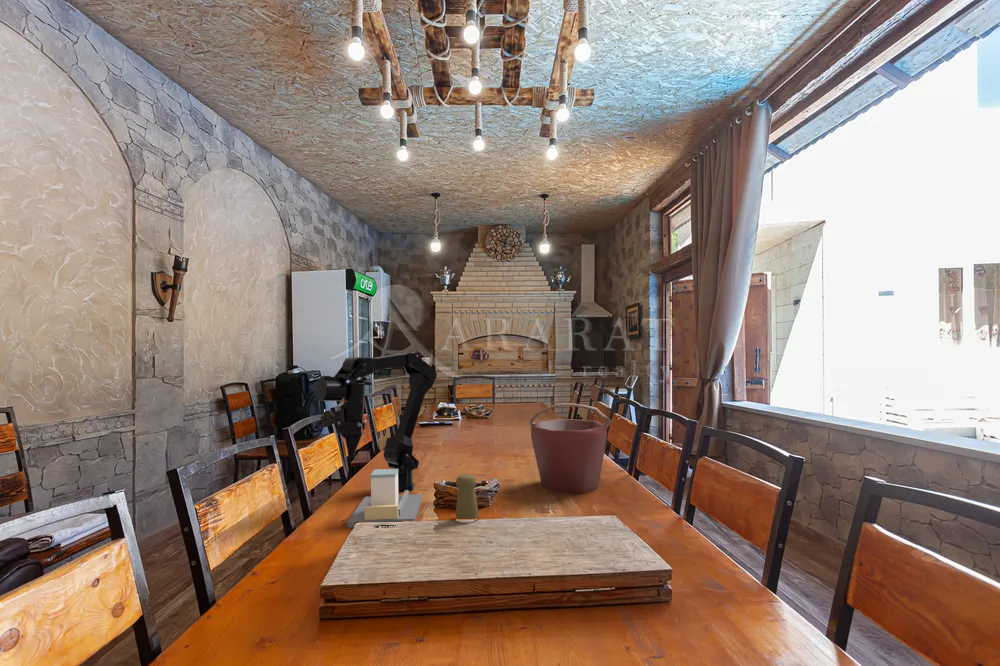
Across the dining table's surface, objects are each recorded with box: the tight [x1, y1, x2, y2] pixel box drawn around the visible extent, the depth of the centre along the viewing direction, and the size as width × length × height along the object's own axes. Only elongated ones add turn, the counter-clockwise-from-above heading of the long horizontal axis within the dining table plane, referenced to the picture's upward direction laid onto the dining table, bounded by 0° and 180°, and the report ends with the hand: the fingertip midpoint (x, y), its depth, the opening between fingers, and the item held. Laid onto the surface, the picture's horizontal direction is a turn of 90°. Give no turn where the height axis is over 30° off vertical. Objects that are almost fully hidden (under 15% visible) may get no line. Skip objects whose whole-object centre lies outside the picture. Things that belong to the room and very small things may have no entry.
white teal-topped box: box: [369, 468, 399, 506], centre depth 124 cm, size 5×6×10 cm
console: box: [347, 490, 423, 529], centre depth 128 cm, size 20×16×4 cm
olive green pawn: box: [454, 473, 480, 519], centre depth 122 cm, size 6×6×11 cm
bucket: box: [529, 403, 612, 494], centre depth 148 cm, size 24×22×25 cm
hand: (350, 457), depth 135 cm, fingers closed
